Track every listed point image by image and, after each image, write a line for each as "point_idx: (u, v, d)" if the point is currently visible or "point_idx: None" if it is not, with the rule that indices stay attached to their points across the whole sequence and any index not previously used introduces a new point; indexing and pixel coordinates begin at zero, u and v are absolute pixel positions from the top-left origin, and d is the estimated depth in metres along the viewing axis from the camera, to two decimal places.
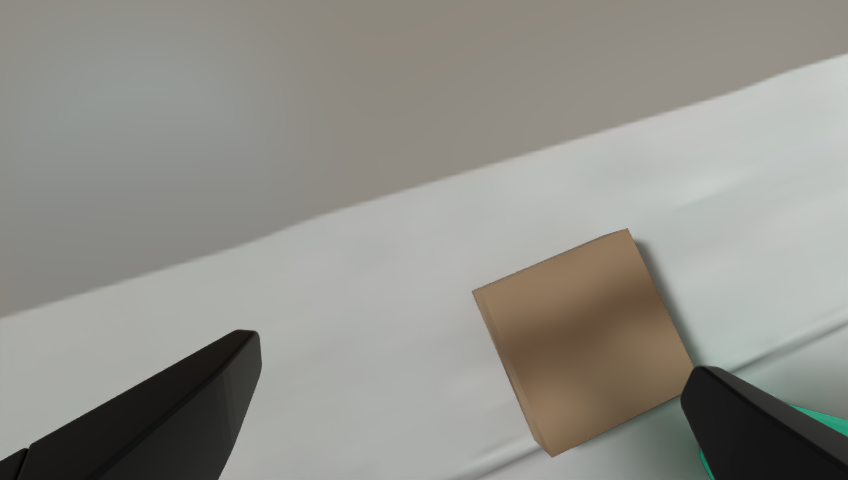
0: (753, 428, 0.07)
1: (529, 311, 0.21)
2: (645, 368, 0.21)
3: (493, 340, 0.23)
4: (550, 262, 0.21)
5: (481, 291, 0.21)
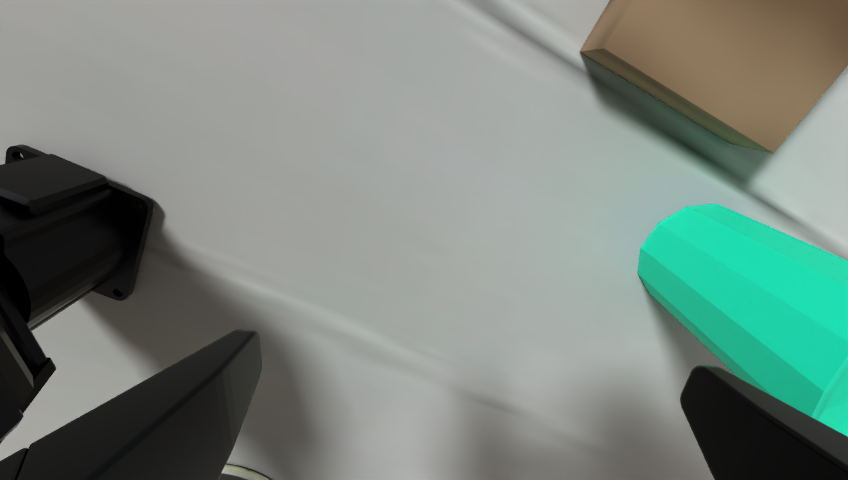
0: (753, 428, 0.07)
1: None
2: (764, 82, 0.16)
3: None
4: None
5: None
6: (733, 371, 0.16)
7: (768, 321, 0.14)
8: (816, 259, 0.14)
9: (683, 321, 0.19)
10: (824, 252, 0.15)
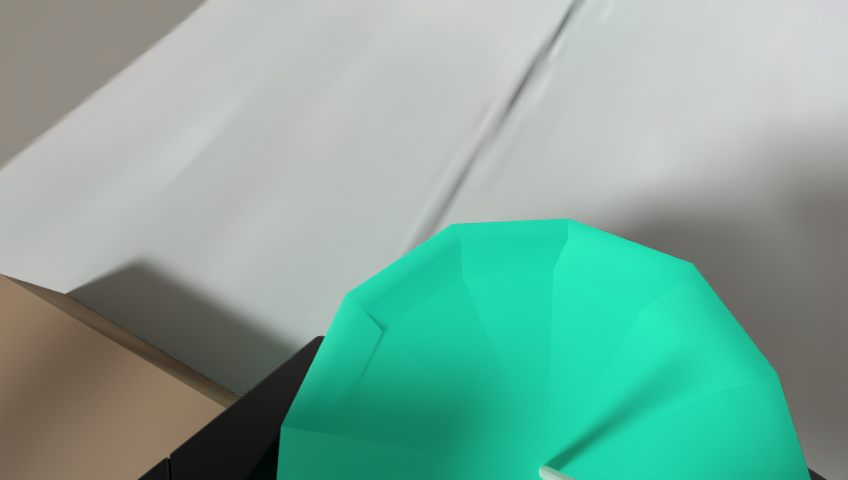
0: None
1: None
2: (123, 472, 0.10)
3: None
4: None
5: None
6: None
7: None
8: None
9: None
10: None
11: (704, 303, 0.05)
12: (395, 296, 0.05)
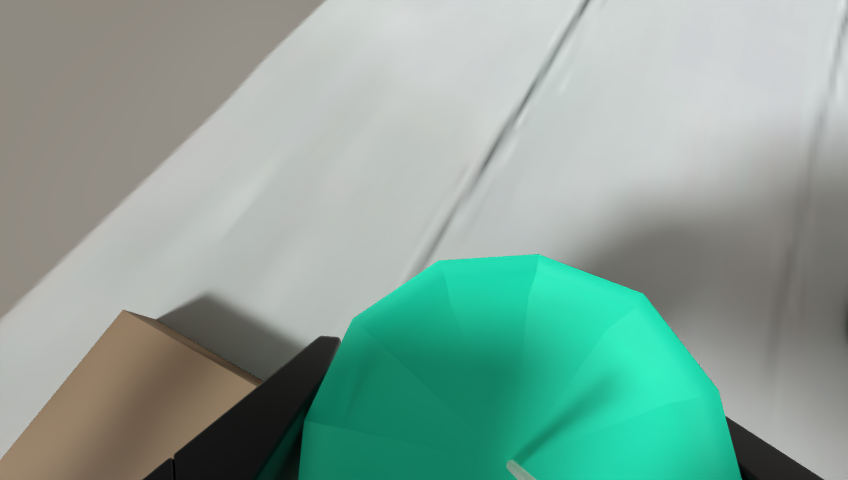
0: None
1: None
2: None
3: None
4: (37, 416, 0.16)
5: None
6: None
7: None
8: None
9: None
10: None
11: (652, 328, 0.06)
12: (392, 320, 0.06)
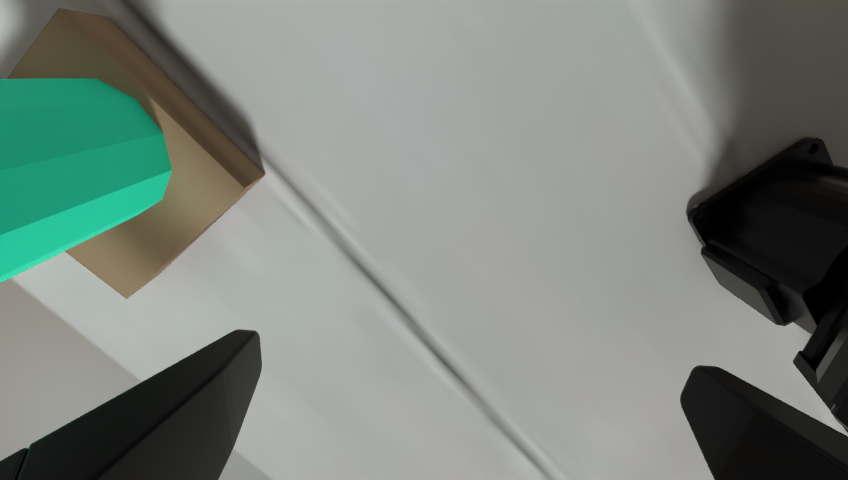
0: (753, 428, 0.07)
1: (115, 249, 0.19)
2: None
3: (188, 245, 0.21)
4: None
5: (127, 297, 0.20)
6: None
7: None
8: None
9: (76, 123, 0.13)
10: None
11: None
12: None
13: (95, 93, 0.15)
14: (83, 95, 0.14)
